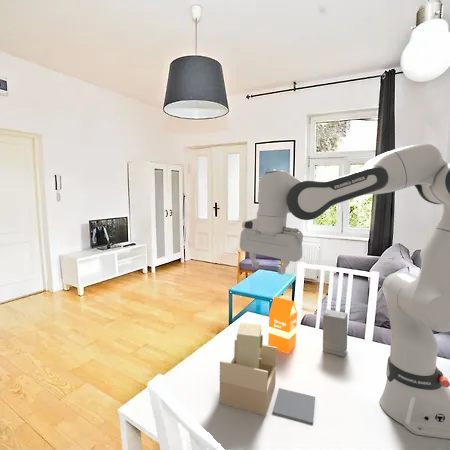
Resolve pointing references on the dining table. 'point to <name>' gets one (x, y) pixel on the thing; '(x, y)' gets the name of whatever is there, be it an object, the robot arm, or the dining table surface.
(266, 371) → the carton
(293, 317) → the orange juice
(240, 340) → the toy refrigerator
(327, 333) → the skincare box
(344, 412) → the dining table surface
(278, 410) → the mat
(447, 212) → the robot arm
